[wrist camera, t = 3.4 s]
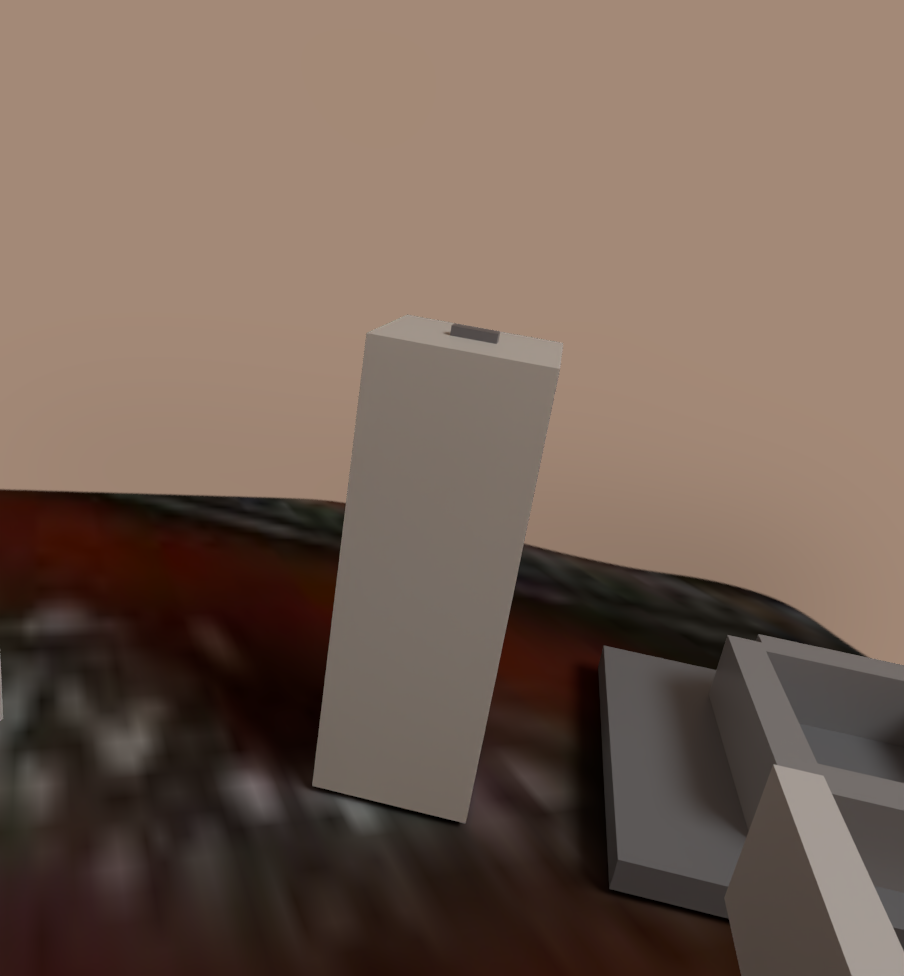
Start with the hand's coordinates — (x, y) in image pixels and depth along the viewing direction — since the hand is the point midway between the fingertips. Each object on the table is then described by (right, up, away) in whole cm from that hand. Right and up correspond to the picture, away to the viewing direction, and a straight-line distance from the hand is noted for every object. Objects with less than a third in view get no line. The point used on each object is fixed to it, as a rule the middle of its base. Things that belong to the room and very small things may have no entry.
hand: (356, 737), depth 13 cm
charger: (0, -4, +11) cm, 12 cm away
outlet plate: (+14, -6, +12) cm, 20 cm away
